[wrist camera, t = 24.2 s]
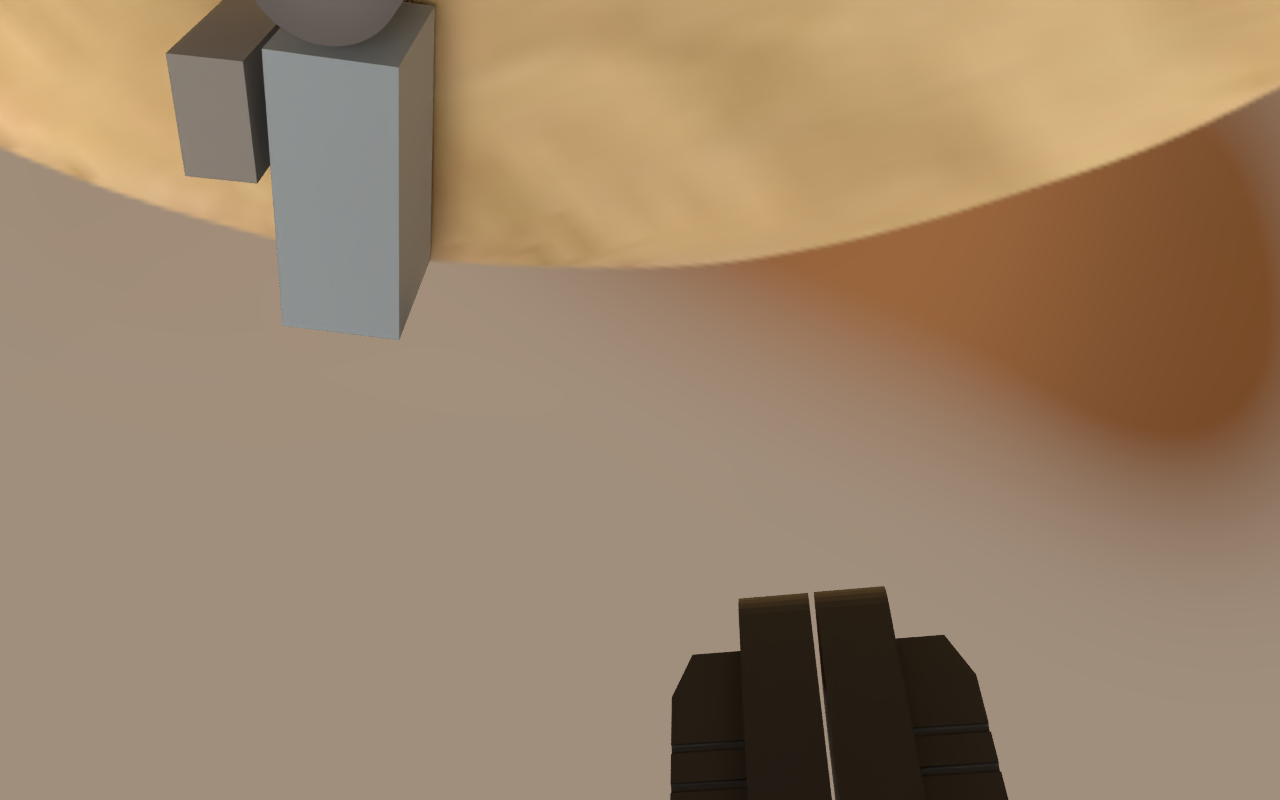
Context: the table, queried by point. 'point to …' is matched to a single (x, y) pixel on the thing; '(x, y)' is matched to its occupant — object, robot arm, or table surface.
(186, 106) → the block
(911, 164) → the table surface
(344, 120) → the hinged leg
